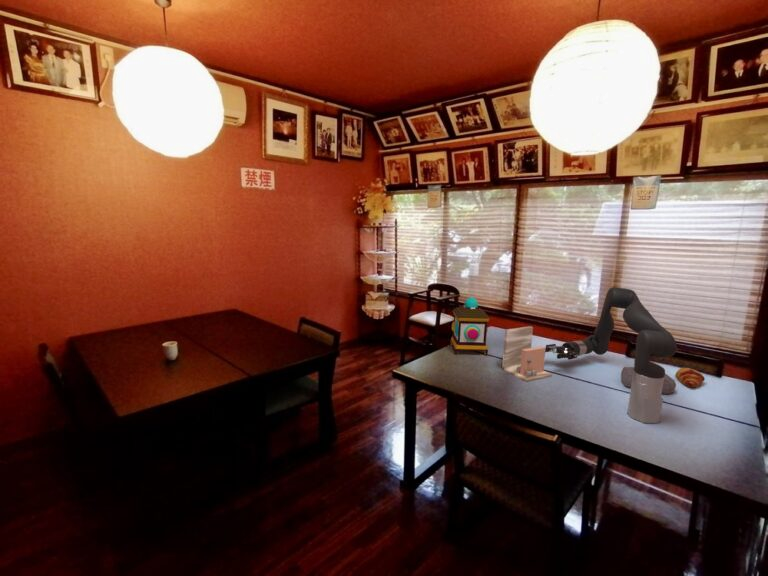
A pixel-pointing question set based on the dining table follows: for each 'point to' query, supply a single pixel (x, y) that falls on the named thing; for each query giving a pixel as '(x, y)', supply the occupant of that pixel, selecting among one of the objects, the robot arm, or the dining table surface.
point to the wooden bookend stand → (519, 353)
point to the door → (532, 359)
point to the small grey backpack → (628, 375)
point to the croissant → (689, 377)
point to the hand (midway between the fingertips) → (550, 353)
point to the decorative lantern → (469, 327)
